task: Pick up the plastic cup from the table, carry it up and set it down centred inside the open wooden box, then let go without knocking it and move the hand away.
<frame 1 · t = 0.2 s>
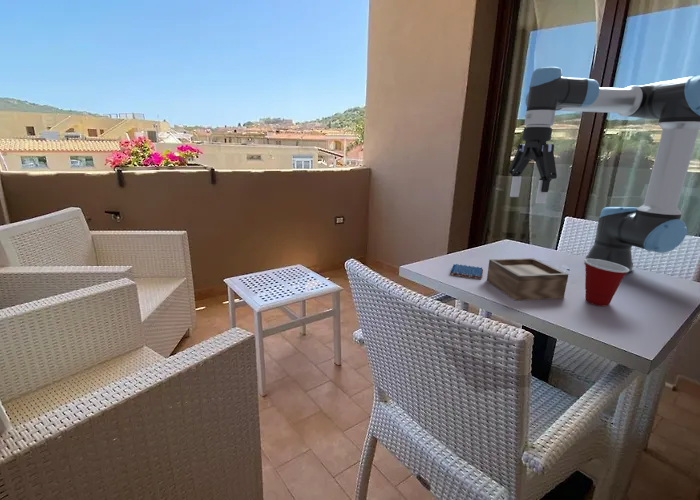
hand: (526, 200, 111), 28 cm above the table, tool pointing down, fingers open, 13 cm apart
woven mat: (466, 275, 129), on the table
open wooden box: (523, 288, 115), on the table
plastic cup: (597, 302, 106), on the table
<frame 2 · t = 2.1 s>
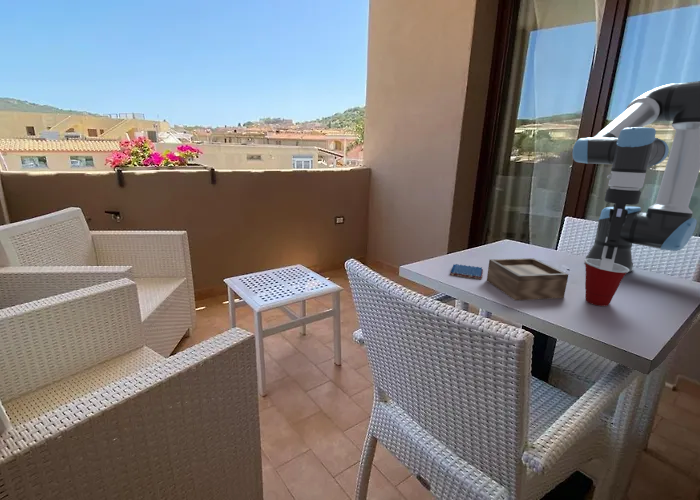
hand: (606, 264, 103), 12 cm above the table, tool pointing down, fingers open, 13 cm apart
nothing on the table moved.
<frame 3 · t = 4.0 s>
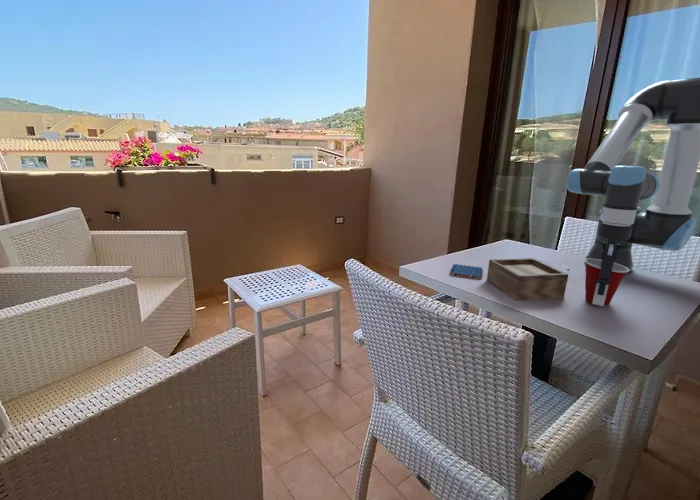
hand: (598, 299, 106), 1 cm above the table, tool pointing down, fingers closed on plastic cup, 9 cm apart
plastic cup: (597, 302, 106), on the table, touching gripper
everything else where it was.
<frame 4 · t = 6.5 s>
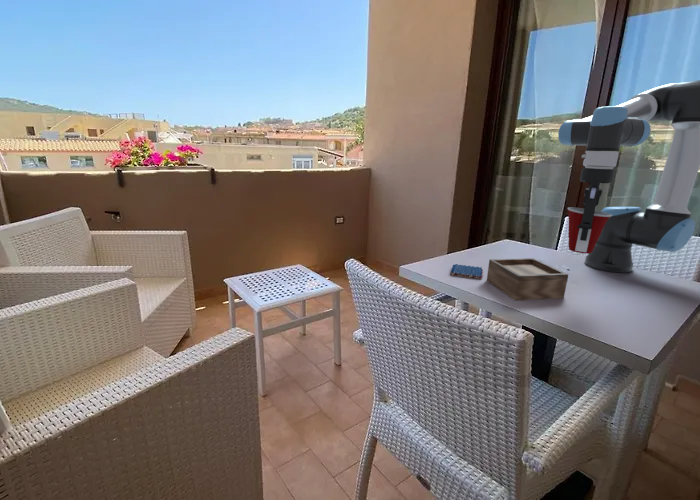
hand: (581, 247, 105), 16 cm above the table, tool pointing down, fingers closed on plastic cup, 9 cm apart
plastic cup: (580, 251, 105), point 14 cm above the table, touching gripper
everything else where it was.
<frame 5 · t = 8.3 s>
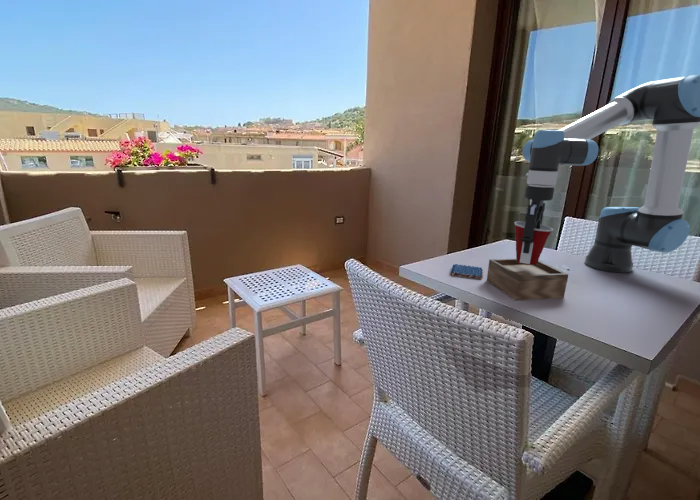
hand: (527, 259, 112), 10 cm above the table, tool pointing down, fingers closed on plastic cup, 9 cm apart
plastic cup: (527, 262, 113), point 9 cm above the table, touching gripper
everything else where it was.
when the fingers open (8 cm above the table, at t = 9.5 s): plastic cup drops 1 cm, resting on open wooden box.
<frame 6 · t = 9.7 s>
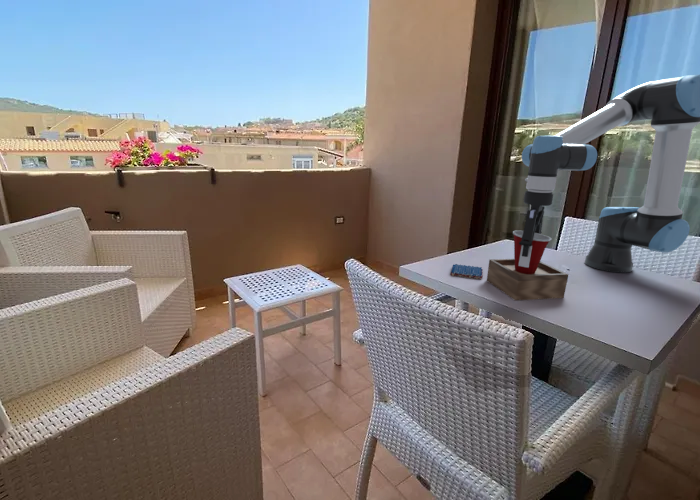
hand: (527, 261, 112), 9 cm above the table, tool pointing down, fingers open, 11 cm apart
plastic cup: (525, 271, 113), point 6 cm above the table, touching open wooden box
everything else where it was.
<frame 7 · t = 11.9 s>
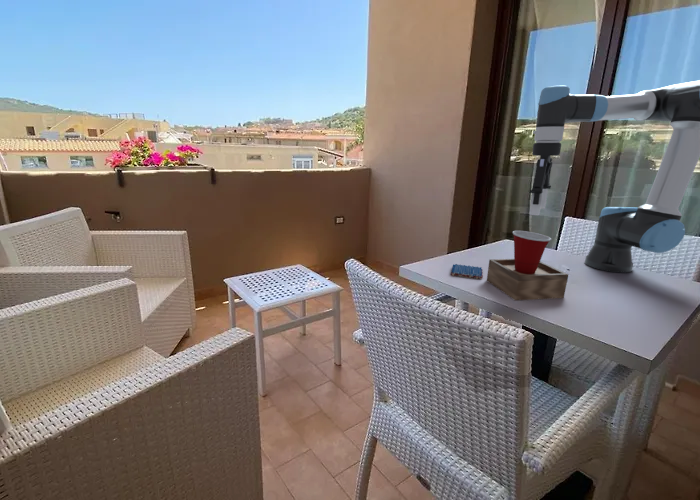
hand: (537, 211, 116), 23 cm above the table, tool pointing down, fingers open, 13 cm apart
nothing on the table moved.
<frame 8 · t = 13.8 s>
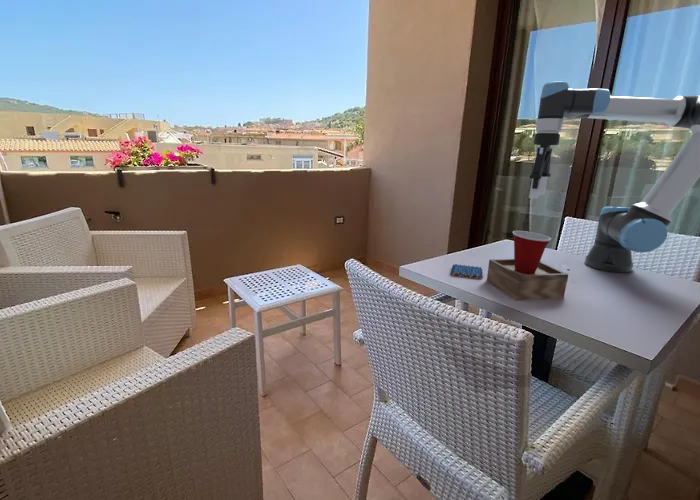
hand: (537, 196, 127), 27 cm above the table, tool pointing down, fingers open, 13 cm apart
nothing on the table moved.
at the end: plastic cup 0.3 cm off-centre on the open wooden box, point 5.8 cm above the open wooden box's base; plastic cup tilted 0°; the gripper is holding nothing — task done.
